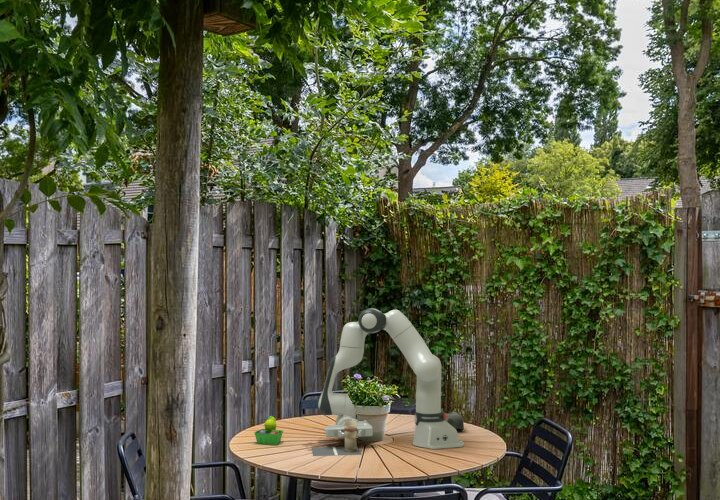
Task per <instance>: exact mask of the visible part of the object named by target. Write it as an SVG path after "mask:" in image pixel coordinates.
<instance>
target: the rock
mask: <svg viewBox="0 0 720 500" xmlns="http://www.w3.org/2000/svg"><path fill="white" fill-rule="evenodd" d="M443 413H444V414H447V415H448V419H445V421H446V422H448V423H449V424H450V425H451V426H453V427H454V428H455V429H456V430H457V429H459V431H460V432H463V431H464V430H465V426H464V418H463V416H462V415H460V414H459V413H458V412H455V411H449V412H447V413H446V412H443Z"/></svg>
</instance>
